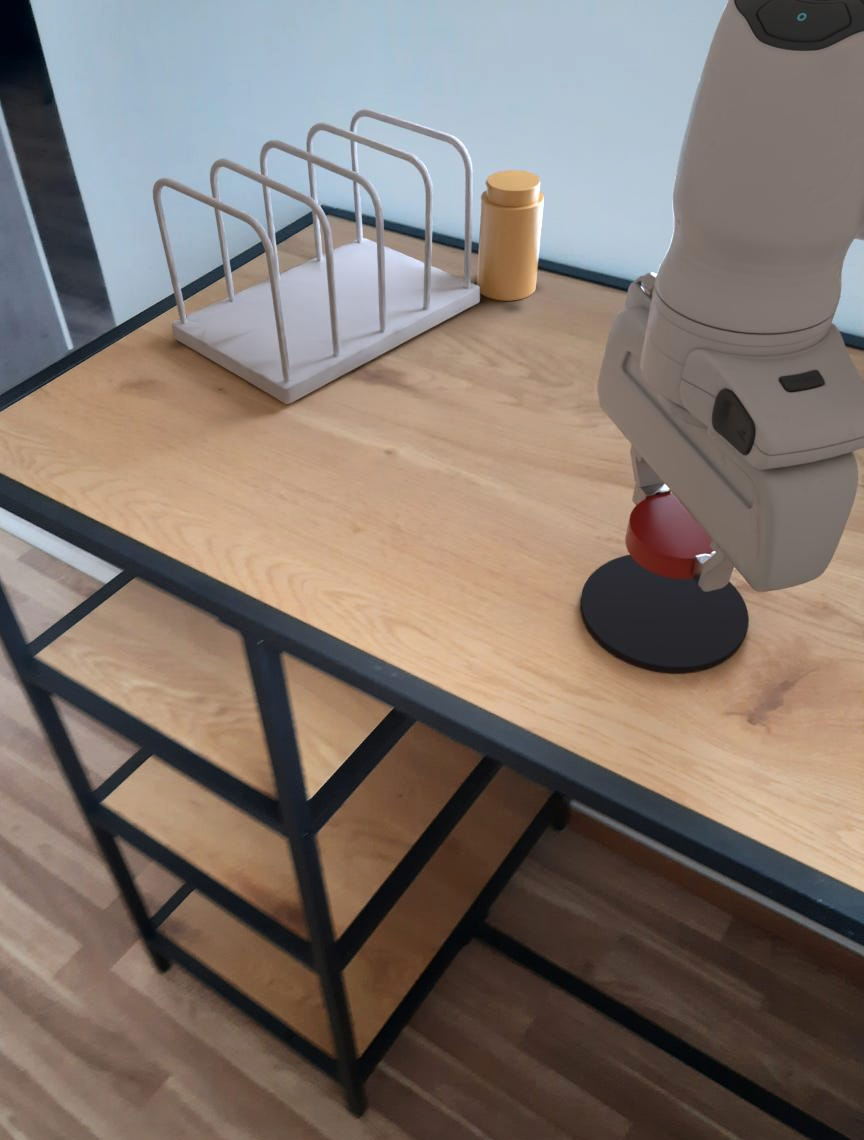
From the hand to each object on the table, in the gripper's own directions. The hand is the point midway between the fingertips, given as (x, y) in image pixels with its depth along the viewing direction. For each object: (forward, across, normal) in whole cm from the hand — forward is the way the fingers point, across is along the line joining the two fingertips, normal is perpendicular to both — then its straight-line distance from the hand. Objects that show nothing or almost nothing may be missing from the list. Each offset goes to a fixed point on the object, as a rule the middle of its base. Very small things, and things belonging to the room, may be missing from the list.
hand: (677, 544), depth 59 cm
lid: (-1, 0, 0) cm, 1 cm away
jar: (+6, -47, +8) cm, 48 cm away
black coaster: (+6, 0, 0) cm, 6 cm away
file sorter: (+6, -46, -11) cm, 48 cm away
